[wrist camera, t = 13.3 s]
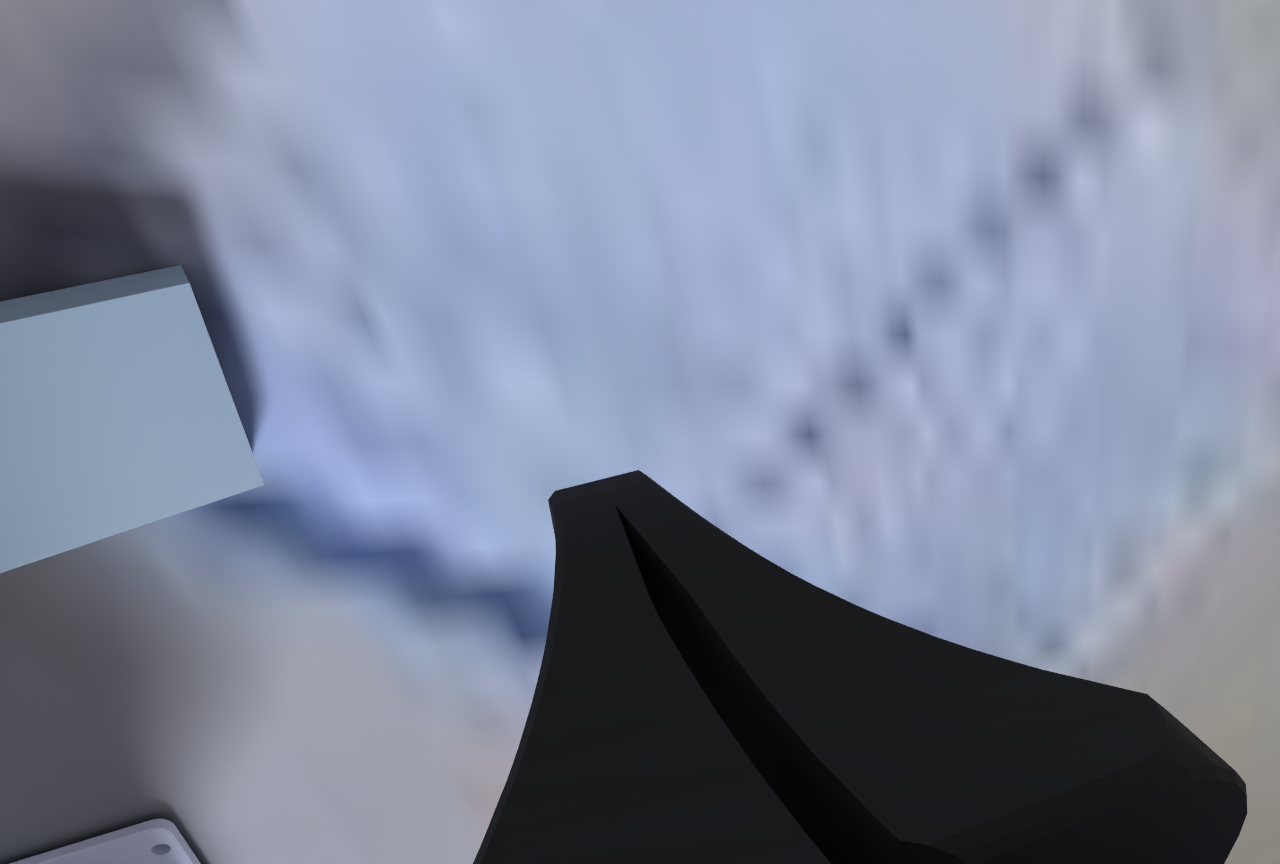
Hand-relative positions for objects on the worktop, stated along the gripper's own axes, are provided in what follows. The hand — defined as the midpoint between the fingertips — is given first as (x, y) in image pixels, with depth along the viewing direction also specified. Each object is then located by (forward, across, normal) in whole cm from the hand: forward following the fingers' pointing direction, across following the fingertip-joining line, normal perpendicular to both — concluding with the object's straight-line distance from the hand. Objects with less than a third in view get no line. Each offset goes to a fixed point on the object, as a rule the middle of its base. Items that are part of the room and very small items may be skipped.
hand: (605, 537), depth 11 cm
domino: (+9, +7, 0) cm, 11 cm away
